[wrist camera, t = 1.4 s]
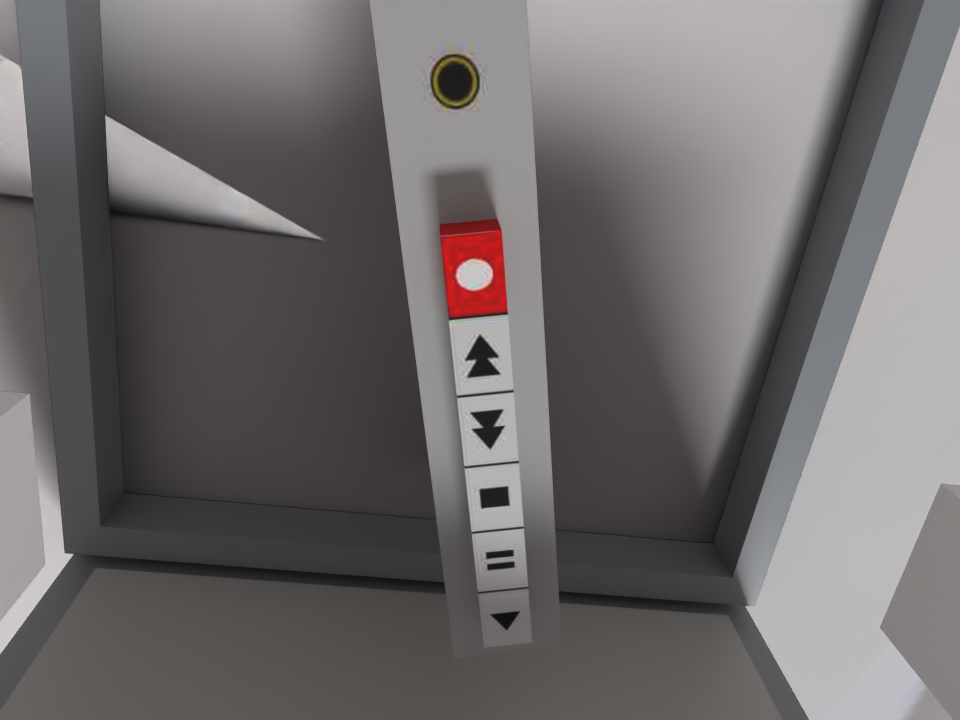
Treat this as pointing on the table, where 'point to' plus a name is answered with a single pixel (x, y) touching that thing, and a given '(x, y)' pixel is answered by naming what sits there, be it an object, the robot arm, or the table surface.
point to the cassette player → (475, 306)
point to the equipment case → (400, 540)
